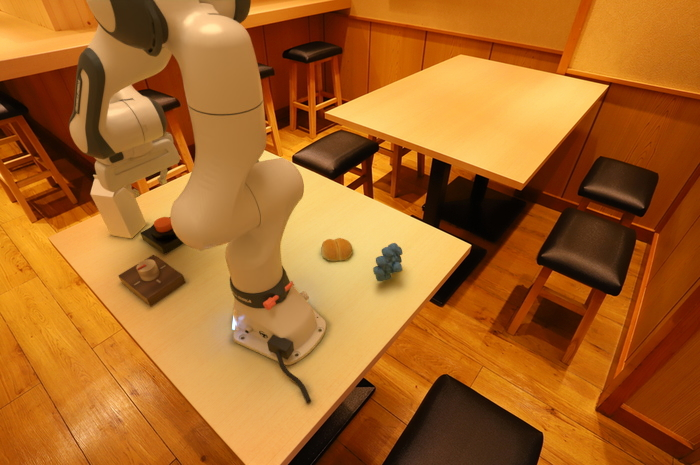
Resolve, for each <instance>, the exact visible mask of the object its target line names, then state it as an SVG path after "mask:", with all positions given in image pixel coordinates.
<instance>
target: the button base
mask: <svg viewBox="0 0 700 465" xmlns="http://www.w3.org/2000/svg"><path fill="white" fill-rule="evenodd" d="M168 217H169V218H170V216H168ZM140 236H141V239H142V240H143V241H144V242H146V243H147V244H149V245H150V246H151V247H153V248H154V249H156V250H157V251H159V252H160V253H161V254H163V255H167V254H168V253H170V252H171V251H174V250H175V249H176V248H179V247H180V246H181V245H183V244H184V243H183V242H182V241H181V240H180V239H179V238H178V237H177V235H176V234H175V232H174V230H173V228H172V229H171V230H169V231H167V232H163V233H161V232H157V231H156V229H155V226H154V223H153V224H152V225H151V226H150V227H148V228H147V229H144V230H143V231H140Z"/></svg>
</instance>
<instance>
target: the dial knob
mask: <svg viewBox="0 0 700 465" xmlns="http://www.w3.org/2000/svg"><path fill="white" fill-rule="evenodd" d="M138 263H139V264H138ZM138 263H137V264H138V265H137V264H136V265H137V267H136V269H137V271H138V273H139V275H140V277H141V279H142V280H143V281H152V280H154V279H156V278H157V277H158V276H159V274H160V272H159V270H158V267H157V265H156V263H155V261H154V260H151V259H148V260H145V259H144V260H142V261H140V262H138Z"/></svg>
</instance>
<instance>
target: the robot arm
mask: <svg viewBox="0 0 700 465" xmlns="http://www.w3.org/2000/svg"><path fill="white" fill-rule="evenodd" d="M85 2H86V4H87V6H88V8H89V11H90V12H91V13H92V15H93V17H94V18H95V20H96V22H97V28H96V31H95V32H94V35H93V37H92V39H91V41H89V42H90V43H89V44H88V45H87V47H86V48H84V50H83V51H82V52H81V53H80V54H79V57H78V61H77V67H76V75H75V85H74V86H75V87H74V97H73V98H74V99H73V109H72V113H71V115H70V117H69V121H68V128H69V133H70V137H71V139H72V140H73V143H74V144H75V146H76V147H77V148H78V149H79V150H80V153H82V154H84V155H86V156H88V157H92V158H94V159H95V161H94V162H95V163H94V170H95V175H97V177H98V180H99V182H100V184H101V186H102V187H103V188H104V189H106V190H108V191H110V192H114V191H116V190H119V189H121V188H125V189H127V190H128V191H130V194H131V196H132V197H133V198H136V199H137V198H139V197H141V193H140V191H139V190H138V189H137V188H133V189H132V187H133V186H132V184H134V183H136V182H139V181H141V180H144V179H146V178H148V177H151V176H152V175H154V174H157V173H159V172H160V173H159V176H158V177H157V181H158V183H159V185H160V186H164V185H166V184H168V180H167V177H168V172H169V170H168V168H171V167H173V166H176V165H178V164H179V163H180V160H181V156H180V154H179V151H178V149H177V147H176V146H175V144H174V143H175V142H174V138H173V135H172V133H171V132H169V131H167V127H168V121H167V120H168V119H167V117H166V114H165V111H164V109H163V107H162V105H161V104H160V103H159V102H158V101H156V100H155V99H153V98H151V97H149V96H146V95H142V94H141V93H140V92H139V91H138V90H136V89H135V87H134V86H133V85H134V84H136V83H139V82H141V81H143V80H146V79H149V78H151V77H153V76H155V75H157V74H159V73H160V72H162V71H163V70H164V69H165V68H166V67H167V65H168V64H169V62H170V60H171V58H172V56H173V57H174V59H175V60H176V62H177V64H178V67H179V70H180V74H181V78H182V84H183V90H184V94H185V99H186V104H187V109H188V113H189V117H190V122H191V127H192V132H193V139H194V146H195V147H194V148H195V153H194V154H195V155H194V162H193V166H192V170H191V174H190V176H189V178H188V180H187V183H186V185H185V186H184V188H183V190H182V191H181V193H180V194H179V196H178V197H177V198H176V199H175V200H174V201H173V203H172V205H171V208H170V214H169V217H170V219H171V225H172V228H173V230H174V232H175V234H176V235H177V237H178V238H179V239H180V240H181V241H182V242H183V244H184V245H186V246H187V247H190V248H191V249H194V250H196V251H204V250H209V249H213V248H216V247H220V246H222V245H226V244H227V245H226V248H225V252H224V253H225V255H224V258H225V262H226V266H227V269H228V273H229V287H230V290H231V293H232V295H233V297H234V298H233V308H232V315H233V318H232V327H231V329H232V330H233V336H232V338H233V341H234V343H235V344H236V343H237V345H240V346H242V347H244V348H247V349H249V350H251V351H252V352H253V351H254V352H256V353H257V354H260V355H262V356H264V357H267V358H268V359H271V360H273V361H275V362H278V364H279V367H280V369H281V370H282V372H283V374H284V375H285V376H286V377H287V378H289V379H290V380H291V381H293V382H294V383H295V384H296V385H297V386H298V387H299V389H300V390H301V393H302V395H303V398H304V400H305V402H306V403H307V404H308V403H310V402H312V399H311V396H310V395H309V392H308V389H307V388H306V386H305V384H304V383H303V382H302V380H301V379H300V378H299V377H297V376H296V375H295V374H293V373H292V372H291V371H290V370H288V368H287V366H291V365H293V364H296V363H298V362H300V361H301V360H303V359H304V358H306V357H307V356H308V355H309V354H310V353H311V352H312V351H313V350H314V349H315V348H316V347H317V346H318V344H319V343H321V340H322V339H323V337H324V335H325V333H326V330H327V325H328V324H327V322H326V320H325V318H323V317H322V316H321V315H320V313H318V312H317V311H316V310H315V309H314V308H313V306H312V305H311V304H310V303H309V302H308V300H309V294H308V293H307V292H306V291H304V290H303V291H301V292H299V291H298V289H297V288H296V287H295V283H294V281H293V280H290V278H289V276H288V274H287V271H286V269H285V267H284V266H283V261H282V248H281V247H282V239H283V236H284V233H285V229H286V226H287V224H288V222H289V219H290V217H291V215H292V213H293V211H294V209H295V208H296V206H297V205H298V204H299V203H300V201H301V200H302V199H303V196H304V192H305V184H304V179H303V176H302V174H301V172H300V170H299V168H297V166H296V165H295V164H293V163H292V162H291V161H290V160H288V159H286V158H284V157H283V158H282V157H280V158H271V159H266V160H265V159H264V160H261V161H260V159H261V157H262V156H263V155H264V152H265V150H266V147H267V144H268V143H267V142H268V134H267V123H266V112H265V102H264V93H263V86H262V80H261V75H260V69H259V64H258V59H257V56H256V52H255V48H254V45H253V42H252V38H251V36H250V33H249V32H248V30H247V29H246V28H245V26H243V25H242V23H243V22H244V21H245V20H246V19H247V18H248V16H249V14H250V10H251V5H252V4H251V3H252V0H85ZM258 160H259V162H257V161H258ZM256 162H257V163H256ZM130 188H131V189H130Z"/></svg>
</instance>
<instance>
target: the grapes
mask: <svg viewBox="0 0 700 465" xmlns="http://www.w3.org/2000/svg"><path fill="white" fill-rule="evenodd" d="M402 255H403V248H401V246H399V245H398V244H397V243H396V242H392V243H390V244H388V246H385V247H383V248H382V249H381V255H378V256H377V257H375V264H376V265H375V266H373V268H372V271H373V275H374V276H375V280H376V281H377V282H384V281H389V280H392V274H396V273H400V272H402V271H403V265H402V262H403V260H402Z"/></svg>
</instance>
